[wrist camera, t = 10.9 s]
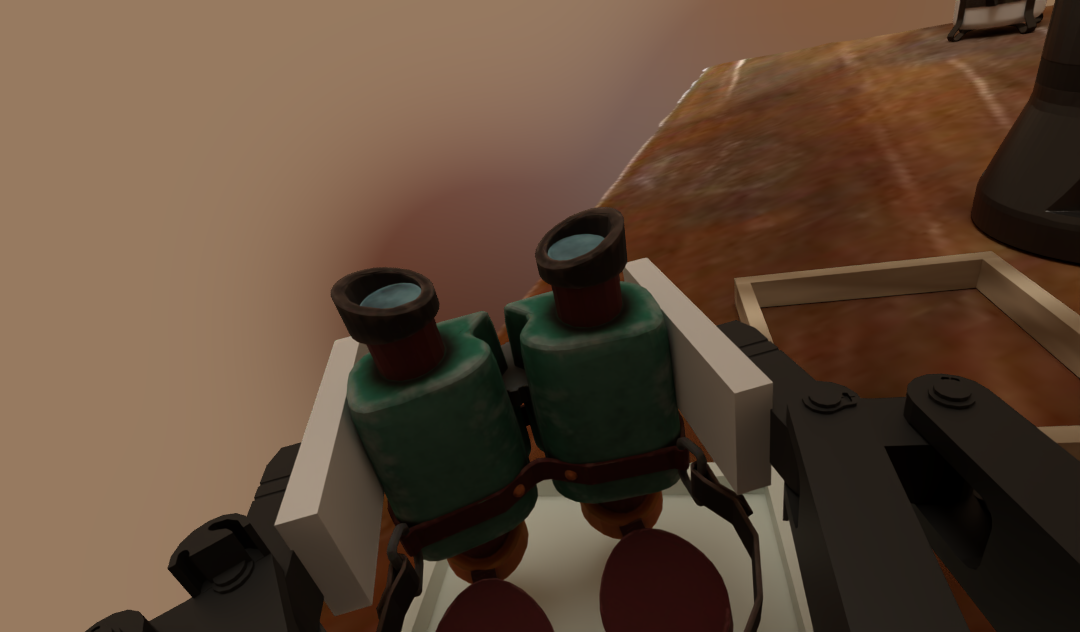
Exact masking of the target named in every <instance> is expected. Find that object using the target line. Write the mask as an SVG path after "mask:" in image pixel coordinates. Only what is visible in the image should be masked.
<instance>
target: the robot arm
mask: <svg viewBox="0 0 1080 632" xmlns="http://www.w3.org/2000/svg"><path fill="white" fill-rule="evenodd" d="M971 217H972V220H973V221H974V223H975V224H976V226H977V227H979V228H980V229H981V230H982V231H983V232H985V233H986V234H988V235H989V236H991V237H993V238H995V239H997V240H999V241H1001V242H1003V243H1006V244H1008V245H1011V246H1014V247H1016V248H1019V249H1022V250H1026V251H1029V252H1032V253H1036V254H1039V255H1043V256H1047V257H1051V258H1056V259H1061V260H1065V261H1071V262H1076V263H1080V0H1055V3H1054V7H1053V11H1052V15H1051V19H1050V23H1049V27H1048V31H1047V35H1046V39H1045V43H1044V47H1043V51H1042V56H1041V61H1040V65H1039V69H1038V73H1037V77H1036V81H1035V85H1034V88H1033V92H1032V94H1031V96H1030V99H1029V101H1028V102H1027V104H1026V105H1025V107H1024V109H1023V110H1022V112H1021V113H1020V115H1019V117H1018V118H1017V120H1016V121H1015V123H1014V125H1013V126H1012V128H1011V129H1010V131H1009V133H1008V134H1007V136H1006V137H1005V139H1004V141H1003V142H1002V144H1001V145H1000V147H999V149H998V150H997V152H996V154H995V155H994V157H993V159H992V160H991V162H990V164H989V165H988V167H987V169H986V170H985V171H984V173H983V174H982V176H981V177H980V179H979V182H978V184H977V187H976V192H975V197H974V202H973V207H972V211H971ZM623 273H624V280H625V282H630V283H634V284H638V285H640V286H642V287H644V288H646V289H647V290H648V291H649V292H650V293H651V294H652V296H653V297H654V299H655V300H656V302H657V303H658V304H659V306H660V309H661V311H662V314H663V317H664V321H665V324H666V327H667V332H668V339H669V347H670V354H671V362H672V370H673V378H674V386H675V394H676V402H677V407H678V408H679V410H680V411H681V413H682V414H683V416H684V417H685V419H686V420H687V422H688V423H689V425H690V426H691V428H692V429H693V431H694V432H695V434H696V435H697V436H698V438H699V439H700V441H701V442H702V444H703V445H704V447H705V448H706V450H707V451H708V453H709V454H710V456H711V457H712V459H713V460H714V462H715V463H716V465H717V466H718V467H719V469H720V470H721V472H722V473H723V475H724V476H725V478H726V479H727V481H728V482H729V484H730V485H731V487H732V488H733V490H734V491H735V493H736V494H737V495H740V494H743V493H746V492H750V491H753V490H756V489H760V488H763V487H766V486H770V485H771V465H772V466H773V467H774V469H775V470H776V471H777V472H778V474H779V475H780V476H781V477H782V479H783V480H784V498H783V521H789V523H790V527H791V532H792V536H793V541H794V545H795V550H796V554H797V559H798V563H799V568H800V573H801V577H802V582H803V586H804V591H805V595H806V600H807V604H808V609H809V613H810V618H811V622H812V627H813V631H814V632H970V630H969V628H968V626H967V624H966V622H965V619H964V617H963V615H962V613H961V611H960V609H959V607H958V604H957V602H956V600H955V598H954V596H953V594H952V592H951V589H950V587H949V585H948V583H947V581H946V579H945V576H944V574H943V572H942V570H941V568H940V566H939V564H938V561H937V559H936V557H935V555H934V553H933V551H932V549H933V550H934V551H935V553H936V554H937V555H938V557H939V558H940V559H941V560H942V562H943V563H944V564H945V566H946V567H947V568H948V569H949V571H950V572H951V573H952V575H953V576H954V577H955V578H956V580H957V581H958V582H959V584H960V585H961V586H962V587H963V589H964V590H965V591H966V593H967V594H968V595H969V596H970V598H971V599H972V600H973V602H974V603H975V604H976V605H977V607H978V608H979V609H980V611H981V612H982V613H983V615H984V616H985V617H986V618H987V620H988V621H989V622H990V624H991V625H992V626H993V627H994V629H995V630H996V631H997V632H1080V461H1079V460H1078V459H1076V458H1075V457H1074V456H1073V455H1071V454H1070V453H1069V452H1067V451H1066V450H1065V449H1064V448H1062V447H1061V446H1060V445H1059V444H1057V443H1056V442H1055V441H1053V440H1052V439H1051V438H1050V437H1048V436H1047V435H1046V434H1045V433H1043V432H1042V431H1041V430H1040V429H1038V428H1037V427H1036V426H1034V425H1033V424H1032V423H1031V422H1029V421H1028V420H1027V419H1026V418H1024V417H1023V416H1022V415H1021V414H1019V413H1018V412H1017V411H1015V410H1014V409H1013V408H1012V407H1010V406H1009V405H1008V404H1007V403H1005V402H1004V401H1003V400H1001V399H1000V398H999V397H998V396H996V395H995V394H994V393H993V392H991V391H990V390H989V389H987V388H985V387H984V386H982V385H980V384H979V383H977V382H975V381H972V380H969V379H966V378H963V377H960V376H955V375H948V374H927V375H923V376H920V377H917V378H915V379H914V380H912V381H911V382H910V383H909V384H908V388H907V393H906V397H896V398H875V399H865V398H860V397H859V396H858V395H857V393H855V392H854V391H852V390H850V389H849V388H847V387H845V386H842V385H839V384H836V383H832V382H823V381H816V380H814V379H813V378H812V377H811V376H810V375H809V374H808V373H806V372H805V371H804V370H803V369H802V368H801V367H800V366H798V365H797V364H796V363H795V362H794V361H793V360H792V359H790V358H789V357H788V356H787V355H786V354H785V353H784V352H782V351H781V350H780V351H779V349H778V347H777V346H776V345H774V344H773V343H772V342H771V341H768V338H766V337H765V336H764V335H763V334H762V333H761V332H760V331H758V330H757V329H756V328H755V327H752V326H750V325H747V324H745V323H742V322H740V321H737V320H735V321H732V322H728V323H724V324H721V325H717V326H715V325H714V324H713V323H712V322H711V321H710V320H709V319H708V318H707V317H706V316H705V315H704V314H703V313H702V312H701V311H700V310H699V309H698V308H697V307H696V306H695V305H694V304H693V303H692V302H691V301H690V300H689V299H688V298H687V297H686V296H685V295H684V294H683V293H682V292H681V291H680V290H679V289H678V288H677V287H676V286H675V285H674V284H673V283H672V282H671V281H670V280H669V279H668V278H667V277H666V276H665V275H664V274H663V273H662V272H661V271H660V270H659V269H658V268H657V267H656V266H655V265H654V264H653V263H652V262H651V261H650V260H649V259H648V258H643V259H639V260H636V261H632V262H628V263H627V264H626V266H625V268H624V269H623ZM367 353H369V350H368V348H367V346H366V344H362V343H359V342H357V341H355V340H354V339H352V337H351V336H350V337H347V338H343V339H339V340H335V343H334V346H333V348H332V351H331V355H330V358H329V361H328V364H327V367H326V370H325V373H324V376H323V379H322V382H321V385H320V388H319V391H318V394H317V397H316V400H315V403H314V407H313V409H312V412H311V416H310V418H309V422H308V424H307V428H306V430H305V434H304V437H303V440H302V442H301V443H297V444H294V445H290V446H287V447H283V448H281V449H280V450H279V451H278V453H277V454H276V455H275V456H274V458H273V459H272V460H271V461H270V462H269V464H268V465H267V466H266V469H265V471H264V474H263V476H262V479H261V482H260V486H259V487H258V489H257V492H256V494H255V497H254V498H255V501H253V502H252V504H251V507H250V509H249V512H248V515H247V517H246V516H244V515H240V514H237V513H234V514H228V515H222V516H220V517H217V518H215V519H213V520H210V521H208V522H207V523H205V524H204V525H202V526H200V527H199V528H197V529H196V530H194V531H193V532H192V533H191V534H190V535H189V536H188V537H187V538H185V539H184V540H183V541H182V542H181V543H180V544H179V546H178V548H177V549H176V550H175V552H174V553H173V555H172V556H171V559H170V562H169V566H168V570H169V571H170V572H171V573H172V574H173V576H174V577H175V578H176V579H177V580H178V581H179V582H180V584H181V585H182V586H183V587H184V588H185V589H186V591H187V592H188V593H189V594H190V595H191V596H192V598H190V599H189V600H187V601H186V602H184V603H182V604H180V605H178V606H176V607H174V608H173V609H171V610H169V611H167V612H165V613H163V614H162V615H160V616H158V617H156V618H154V619H153V620H151V621H148V620H147V619H146V618H145V617H144V616H143V615H142V614H141V613H140V612H139V611H132V610H126V611H122V612H118V613H114V614H112V615H110V616H108V617H106V618H105V619H103V620H101V621H99V622H97V623H96V624H94V625H93V626H92V627H91V628H89V629H88V630H87V631H85V632H326V630H325V629H324V627H323V626H322V624H321V623H320V616H321V610H322V605H323V600H324V601H325V602H326V604H327V605H328V607H329V608H330V610H331V611H332V613H333V614H334V616H337V615H340V614H344V613H347V612H350V611H353V610H357V609H360V608H363V607H367V606H370V605H372V602H373V592H374V583H375V573H376V564H377V555H378V545H379V536H380V527H381V517H382V508H383V499H384V489H383V487H382V485H381V483H380V480H379V478H378V476H377V474H376V472H375V470H374V467H373V465H372V463H371V461H370V458H369V456H368V454H367V452H366V450H365V447H364V445H363V443H362V441H361V438H360V436H359V434H358V432H357V429H356V427H355V425H354V423H353V420H352V416H351V412H350V408H349V405H348V400H347V382H348V376H349V373H350V371H351V370H352V368H353V367H354V365H355V364H356V363H357V362H358V361H359V360H360V359H361V358H362V357H363V356H364V355H366V354H367ZM931 547H932V549H931Z"/></svg>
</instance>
